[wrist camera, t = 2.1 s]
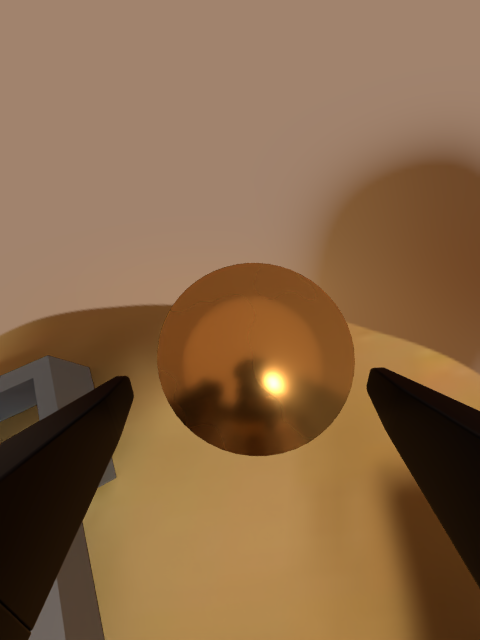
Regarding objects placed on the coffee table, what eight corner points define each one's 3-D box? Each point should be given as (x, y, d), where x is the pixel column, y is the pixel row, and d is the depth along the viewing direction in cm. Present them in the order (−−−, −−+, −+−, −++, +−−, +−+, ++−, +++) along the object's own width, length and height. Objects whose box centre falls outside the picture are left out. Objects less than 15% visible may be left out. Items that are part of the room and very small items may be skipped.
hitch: (219, 891, 9) (203, 1206, 6) (14, 1077, 8) (-180, 1641, 4) (89, 367, 18) (47, 355, 14) (-24, 418, 16) (-102, 419, 13)
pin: (254, 435, 16) (295, 511, 4) (208, 401, 17) (115, 372, 4) (283, 385, 17) (384, 317, 5) (238, 356, 18) (229, 237, 6)
